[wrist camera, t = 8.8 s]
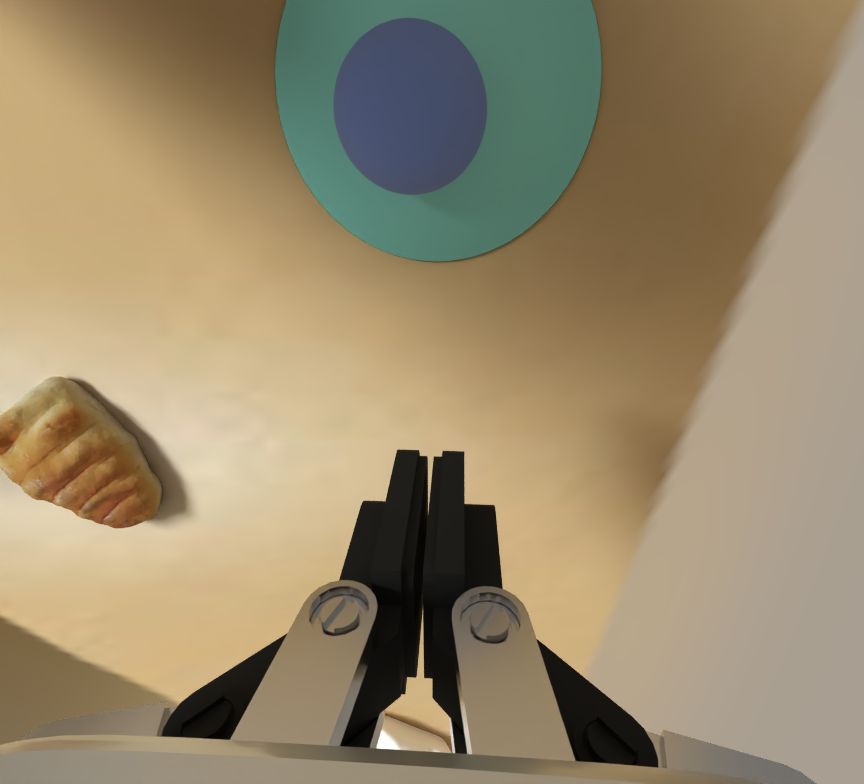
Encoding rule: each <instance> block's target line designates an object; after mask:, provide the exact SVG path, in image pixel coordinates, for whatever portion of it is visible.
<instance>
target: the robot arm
mask: <svg viewBox="0 0 864 784" xmlns="http://www.w3.org/2000/svg"><path fill="white" fill-rule="evenodd" d="M422 611H423V625H424V678H433V699H434V700H435V701H436V702H437V703H438V704H439V706H440V707H441V708H442V709H443V710H444V711H445V712H446V713H447V714H448V716H449V717H450V735H451V743H452V752H453V753H443V752H427V751H411V750H395V749H378V748H376V747H377V744H378V740H379V737H380V733H381V730H382V726H383V723H384V716H385V709H386V708H387V707H388V706H390V705H391V704H392V703H393V702H394V701H396V700H397V699H398V698H399V697H400V696H401V694H405V691H406V682H407V677H415V678H416V676H417V667H418V656H419V644H420V633H421V622H422ZM0 784H816V783H815V782H813V781H812V780H811V779H809V778H808V777H807V776H805V775H804V774H803V773H802V772H800V771H797V770H795V769H793V768H790V767H788V766H786V765H784V764H781V763H777V762H774V761H770V760H767V759H763V758H760V757H756V756H753V755H749V754H746V753H743V752H739V751H736V750H732V749H729V748H725V747H722V746H718V745H715V744H711V743H708V742H704V741H700V740H697V739H694V738H690V737H687V736H683V735H680V734H676V733H673V732H669V731H666V730H663V732H662V735H661V736H660V735H657V734H653V733H649V732H646V731H645V730H644V728H643V727H642V726H641V725H640V724H639V723H638V722H637V721H636V720H635V719H634V718H633V717H632V716H631V715H629V714H628V713H627V712H625V711H624V710H623V709H622V708H621V707H620V706H618V705H617V704H616V703H614V702H613V701H612V700H611V699H610V698H608V697H607V696H606V695H605V694H604V693H602V692H601V691H600V690H599V689H598V688H596V687H595V686H594V685H593V684H591V683H590V682H589V681H588V680H586V679H585V678H584V677H583V676H582V675H580V674H579V673H578V672H577V671H575V670H574V669H573V668H572V667H571V666H569V665H568V664H567V663H566V662H564V661H563V660H562V659H561V658H559V657H558V656H557V655H556V654H555V653H553V652H552V651H551V650H550V649H548V648H547V647H546V646H545V645H544V644H542V643H541V642H540V641H539V640H537V639H536V636H535V633H534V630H533V627H532V624H531V621H530V618H529V615H528V612H527V610H526V608H525V606H524V604H523V603H522V602H521V601H520V600H519V599H518V598H517V597H516V596H515V595H513V594H511V593H510V592H508V591H506V590H504V589H503V588H502V577H501V566H500V555H499V544H498V534H497V523H496V512H495V506H494V505H474V504H464V452H460V451H443V453H442V457H434V461H433V471H432V482H431V492H430V502H429V513H428V459H427V456H420V453H419V450H397V453H396V457H395V462H394V466H393V471H392V475H391V479H390V484H389V488H388V493H387V497H386V501H363V502H362V505H361V508H360V511H359V515H358V518H357V521H356V525H355V528H354V532H353V535H352V539H351V542H350V545H349V549H348V552H347V556H346V559H345V563H344V566H343V569H342V573H341V576H340V580H339V581H335V582H330V583H328V584H326V585H324V586H321V587H319V588H318V589H317V590H316V591H314V592H313V593H312V594H310V596H309V597H308V598H307V600H306V601H305V602H304V604H303V606H302V608H301V610H300V611H299V613H298V615H297V617H296V619H295V621H294V622H293V624H292V626H291V628H290V630H289V632H288V633H287V634H286V635H284V636H282V637H281V638H279V639H278V640H276V641H274V642H273V643H271V644H270V645H268V646H267V647H265V648H263V649H262V650H260V651H259V652H257V653H255V654H254V655H252V656H251V657H249V658H248V659H246V660H244V661H243V662H241V663H240V664H238V665H236V666H235V667H233V668H232V669H230V670H229V671H227V672H225V673H224V674H222V675H221V676H219V677H218V678H216V679H214V680H213V681H211V682H210V683H208V684H206V685H205V686H203V687H202V688H200V689H199V690H197V691H195V692H194V693H193V694H191V695H190V696H189V697H187V698H186V699H185V700H184V701H182V702H181V703H180V704H179V706H173V707H168V704H167V702H160V703H154V704H148V705H143V706H137V707H131V708H125V709H120V710H114V711H109V712H103V713H97V714H91V715H85V716H80V717H74V718H69V719H62V720H57V721H53V722H50V723H47V724H44V725H42V726H39V727H37V728H36V729H34V730H33V731H31V732H29V733H27V734H26V735H24V736H23V737H21V738H20V739H19V740H18V741H17V742H12V743H7V744H2V745H0Z"/></svg>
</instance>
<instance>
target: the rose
mask: <svg viewBox="0 0 864 784" xmlns="http://www.w3.org/2000/svg"><path fill="white" fill-rule="evenodd" d="M376 748H378V749H395V750H411V751H427V752H443V753H451V751H450V749H449V747H448V746H447V744H446V743H445V741H444V739H442V738H441V737H439V736H437V735H434V734H432V733H429V732H426V731H424V730H421V729H418V728H416V727H413V726H411V725H409V724H406V723H404V722H401V721H399V720H396V719H394V718H391V717H389V716H386V715H385V716H384V723H383V726H382V730H381V733H380V737H379V740H378V744H377V747H376Z"/></svg>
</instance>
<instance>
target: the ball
mask: <svg viewBox="0 0 864 784" xmlns="http://www.w3.org/2000/svg"><path fill="white" fill-rule="evenodd" d="M333 109H334V119H335V125H336V129H337V133H338V136H339V139H340V142H341V144H342V146H343V148H344V150H345V152H346V154H347V156H348V157H349V159H350V160H351V162H352V163H353V165H354V166H355V167H356V168H357V169H358V170H359V171H360V172H361V173H362V174H363V175H364V176H365V177H366V178H367V179H368V180H370V181H371V182H373V183H374V184H376V185H377V186H379V187H381V188H383V189H386V190H388V191H391V192H395V193H399V194H405V195H419V194H425V193H429V192H433V191H436V190H438V189H441V188H442V187H444V186H446V185H448V184H449V183H451V182H452V181H454V180H455V179H456V178H457V177H458V176H460V175H461V174H462V173H463V172H464V170H465V169H466V168H467V167H468V166H469V164H470V163H471V161H472V160H473V158H474V156H475V155H476V153H477V151H478V149H479V147H480V144H481V141H482V138H483V135H484V131H485V126H486V119H487V98H486V90H485V86H484V82H483V78H482V75H481V72H480V70H479V68H478V65H477V63H476V61H475V59H474V58H473V56H472V54H471V53H470V52H469V50H468V49H467V47H466V46H465V45H464V44H463V43H462V42H461V41H460V40H459V39H458V38H457V37H456V36H455V35H454V34H453V33H451V32H450V31H448V30H447V29H445V28H444V27H442V26H440V25H438V24H436V23H433V22H431V21H428V20H423V19H418V18H398V19H393V20H390V21H387V22H384V23H381V24H379V25H377V26H375V27H374V28H372V29H371V30H369V31H368V32H367V33H365V34H364V35H363V36H362V37H360V38H359V39H358V40H357V42H356V43H355V44H354V45H353V46H352V48H351V49H350V50H349V52H348V54H347V55H346V57H345V59H344V61H343V63H342V65H341V67H340V70H339V73H338V76H337V79H336V84H335V90H334V99H333Z"/></svg>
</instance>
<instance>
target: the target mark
mask: <svg viewBox="0 0 864 784" xmlns="http://www.w3.org/2000/svg"><path fill="white" fill-rule="evenodd" d="M398 18H418V19H423V20H428V21H431V22H433V23H436V24H438V25H440V26H442V27H444V28H445V29H447V30H448V31H450V32H451V33H453V34H454V35H455V36H456V37H457V38H458V39H459V40H460V41H461V42H462V43H463V44H464V45H465V46H466V47H467V49H468V50H469V52H470V53H471V54H472V56H473V58H474V59H475V61H476V63H477V65H478V68H479V70H480V72H481V75H482V78H483V82H484V86H485V90H486V98H487V119H486V126H485V131H484V135H483V138H482V141H481V144H480V147H479V149H478V151H477V153H476V155H475V156H474V158H473V160H472V161H471V163H470V164H469V166H468V167H467V168H466V169H465V170H464V172H463V173H462V174H461V175H460V176H458V177H457V178H456V179H455V180H454V181H452V182H451V183H449V184H448V185H446V186H444V187H442V188H441V189H438V190H436V191H433V192H429V193H425V194H419V195H405V194H399V193H395V192H391V191H388V190H386V189H383V188H381V187H379V186H377V185H376V184H374V183H373V182H371V181H370V180H368V179H367V178H366V177H365V176H364V175H363V174H362V173H361V172H360V171H359V170H358V169H357V168H356V167H355V166H354V165H353V163H352V162H351V160H350V159H349V157H348V156H347V154H346V152H345V150H344V148H343V146H342V144H341V142H340V139H339V136H338V133H337V129H336V125H335V119H334V109H333V99H334V90H335V84H336V79H337V76H338V73H339V70H340V67H341V65H342V63H343V61H344V59H345V57H346V55H347V54H348V52H349V50H350V49H351V48H352V46H353V45H354V44H355V43H356V42H357V40H358V39H359V38H360V37H362V36H363V35H364V34H365V33H367V32H368V31H369V30H371V29H372V28H374V27H375V26H377V25H379V24H381V23H384V22H387V21H390V20H393V19H398ZM601 75H602V62H601V43H600V37H599V31H598V25H597V19H596V15H595V12H594V8H593V5H592V1H591V0H287V1H286V5H285V8H284V12H283V15H282V19H281V22H280V28H279V34H278V40H277V46H276V62H275V82H276V98H277V104H278V110H279V115H280V121H281V125H282V128H283V132H284V135H285V139H286V142H287V145H288V148H289V150H290V152H291V155H292V157H293V160H294V162H295V164H296V167H297V168H298V170H299V172H300V174H301V176H302V177H303V179H304V181H305V183H306V185H307V186H308V187H309V189H310V190H311V192H312V193H313V195H314V196H315V197H316V199H317V200H318V202H319V203H320V204H321V205H322V206H323V207H324V208H325V209H326V211H327V212H328V213H329V214H330V215H331V216H332V217H333V218H334V219H335V220H336V221H337V222H339V223H340V224H341V225H342V226H343V227H344V228H345V229H347V230H348V231H349V232H351V233H352V234H354V235H355V236H357V237H358V238H360V239H361V240H363V241H364V242H366V243H368V244H370V245H372V246H374V247H376V248H378V249H380V250H382V251H385V252H388V253H391V254H394V255H396V256H400V257H404V258H409V259H414V260H421V261H434V262H437V261H454V260H459V259H464V258H469V257H474V256H477V255H480V254H483V253H486V252H489V251H491V250H493V249H495V248H497V247H500V246H502V245H504V244H506V243H508V242H509V241H511V240H512V239H514V238H516V237H517V236H519V235H520V234H522V233H523V232H525V231H526V230H527V229H528V228H529V227H531V226H532V225H533V224H534V223H535V222H537V221H538V220H539V219H540V218H541V217H542V216H543V215H544V214H545V213H546V212H547V211H548V210H549V209H550V207H551V206H552V205H553V204H554V203H555V202H556V201H557V199H558V198H559V196H560V195H561V194H562V192H563V191H564V190H565V188H566V187H567V186H568V184H569V182H570V181H571V179H572V177H573V175H574V173H575V172H576V170H577V168H578V166H579V165H580V162H581V160H582V158H583V155H584V153H585V151H586V148H587V146H588V144H589V140H590V137H591V134H592V130H593V127H594V124H595V120H596V115H597V110H598V104H599V99H600V90H601Z"/></svg>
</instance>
